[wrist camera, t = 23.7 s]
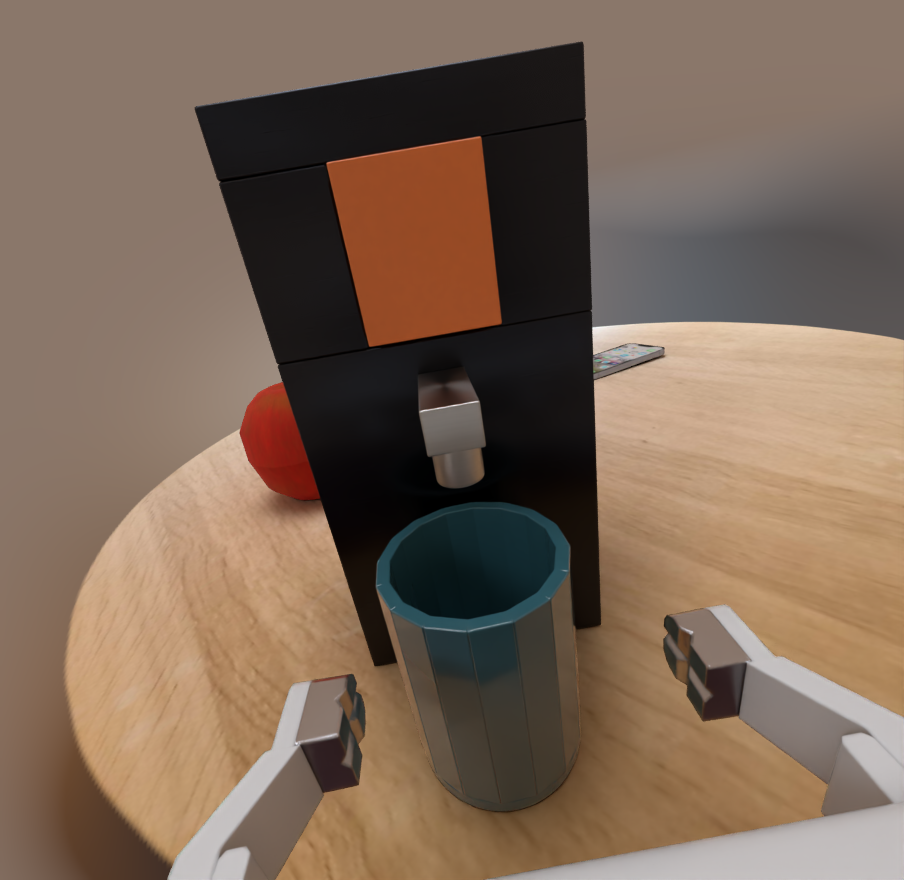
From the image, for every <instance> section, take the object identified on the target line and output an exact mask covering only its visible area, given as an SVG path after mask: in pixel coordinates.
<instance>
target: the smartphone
mask: <svg viewBox="0 0 904 880" xmlns="http://www.w3.org/2000/svg"><path fill="white" fill-rule="evenodd" d="M664 349H665V348H664V347H658V346H650V345H642V344H625V345H622V346H619V347H616V348H613V349H610V350H607V351H604V352H601V353H598V354H595V355H593V371H594V379H597V378H600V377H603V376H606V375H608V374H611V373H614V372H616V371H619V370H622V369H625V368H627V367H630V366H633V365H636V364H638V363H641V362H644V361H647V360H650V359H652V358H655V357H659V356H660V355H663V354H664Z"/></svg>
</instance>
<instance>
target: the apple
mask: <svg viewBox="0 0 904 880" xmlns="http://www.w3.org/2000/svg"><path fill="white" fill-rule="evenodd" d="M240 436H241V439H242V442H243V445H244V448H245V451H246V454H247V458H248V461H249V462H250V463H251V465H252V466H253V467H254V469H255V470H256V471H257V473H258V474H259V475H260V477H261V478H262V479H263V481H264V482H265V483H266V485H267V486H268V487H269V488H270V489H272V490H273V491H275V492H277V493H280V494H283V495H286V496H289V497H292V498H295V499H299V500H314V499H319V498H320V496H319V493H318V490H317V487H316V484H315V480H314V477H313V474H312V471H311V468H310V465H309V462H308V459H307V456H306V453H305V450H304V446H303V443H302V440H301V437H300V434H299V431H298V428H297V425H296V422H295V419H294V415H293V412H292V409H291V406H290V403H289V400H288V397H287V394H286V391H285V388H284V385H283V382H281V383H278V384H275V385H272V386H270V387H268V388H266V389H264V390H262V391H260V392H259V393H258V394H257V395H256V396H255V397H254V399H253V400H252V401H251V403H250V404H249V405H248V406H247V409H246V412H245V416H244V419H243V422H242V426H241V429H240Z"/></svg>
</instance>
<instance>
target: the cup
mask: <svg viewBox="0 0 904 880" xmlns="http://www.w3.org/2000/svg"><path fill="white" fill-rule="evenodd" d="M376 590H377V593H378V597H379V600H380V604H381V607H382V611H383V614H384V617H385V621H386V624H387V628H388V631H389V634H390V638H391V641H392V645H393V648H394V652H395V655H396V658H397V662H398V665H399V669H400V672H401V676H402V679H403V682H404V686H405V689H406V693H407V696H408V700H409V703H410V706H411V710H412V713H413V717H414V720H415V724H416V727H417V730H418V734H419V737H420V741H421V744H422V746H423V748H424V750H425V753H426V756H427V759H428V761H429V764H430V766H431V768H432V770H433V771H434V773H435V775H436V777H437V778H438V779H439V780H440V782H441V783H442V784H443V785H444V786H445V787H446V788H447V789H448V790H449V791H450V792H451V793H452V794H453V795H455V796H456V797H458V798H459V799H461V800H462V801H464V802H466V803H468V804H470V805H472V806H475V807H478V808H482V809H485V810H492V811H512V810H518V809H523V808H526V807H529V806H532V805H534V804H536V803H538V802H540V801H542V800H543V799H545V798H546V797H547V796H549V795H550V794H552V793H553V792H554V791H555V790H556V789H557V788H558V787H559V786H560V785H561V784H562V783H563V781H564V780H565V779H566V777H567V776H568V775H569V773H570V771H571V769H572V767H573V765H574V763H575V760H576V757H577V755H578V751H579V746H580V738H581V725H580V694H579V678H578V662H577V646H576V630H575V613H574V597H573V581H572V565H571V549H570V545H569V543H568V541H567V540H566V538H565V537H564V535H563V533H562V532H561V530H560V529H559V527H558V526H557V524H555V523H554V522H553V521H551V520H549V519H548V518H546V517H545V516H543V515H541V514H540V513H538V512H537V511H535V510H532V509H530V508H526V507H522V506H518V505H514V504H510V503H506V502H470V503H465V504H460V505H455V506H450V507H445V508H443V509H439V510H437V511H435V512H432V513H430V514H428V515H426V516H423V517H421V518H419V519H417V520H415V521H413V522H412V523H410V524H409V525H408V526H407V527H405V528H404V529H403V530H402V531H400V532H399V533H398V534H397V535H395V536H394V537H393V538H392V539H391V540H390V542H389V543H388V545H387V547H386V548H385V550H384V551H383V553H382V555H381V556H380V558H379V560H378V562H377V572H376Z"/></svg>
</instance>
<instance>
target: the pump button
mask: <svg viewBox="0 0 904 880" xmlns="http://www.w3.org/2000/svg"><path fill="white" fill-rule="evenodd" d="M327 169H328V173H329V177H330V182H331V186H332V190H333V194H334V199H335V203H336V207H337V212H338V216H339V220H340V224H341V229H342V233H343V237H344V241H345V246H346V250H347V254H348V259H349V263H350V267H351V271H352V276H353V280H354V284H355V288H356V293H357V297H358V301H359V306H360V310H361V314H362V318H363V323H364V327H365V331H366V335H367V340H368V344H369V347H374V346H379V345H385V344H391V343H397V342H402V341H408V340H414V339H419V338H425V337H431V336H437V335H442V334H448V333H454V332H459V331H465V330H471V329H476V328H482V327H488V326H494V325H499V324H501V323H502V320H501V311H500V302H499V293H498V284H497V275H496V266H495V257H494V248H493V239H492V230H491V221H490V212H489V203H488V193H487V184H486V175H485V166H484V157H483V148H482V139H481V137H480V136H479V137H473V138H467V139H461V140H455V141H449V142H444V143H438V144H432V145H426V146H420V147H414V148H408V149H402V150H397V151H391V152H385V153H379V154H373V155H367V156H361V157H355V158H350V159H344V160H338V161H332V162H327Z"/></svg>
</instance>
